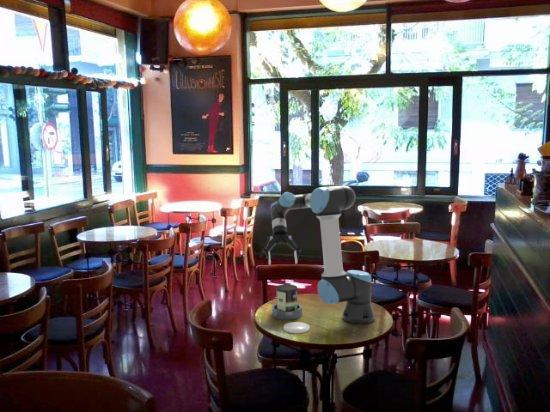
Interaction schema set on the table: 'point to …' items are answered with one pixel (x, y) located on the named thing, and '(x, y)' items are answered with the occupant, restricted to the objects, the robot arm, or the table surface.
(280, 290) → the coffee can
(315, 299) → the table surface
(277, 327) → the table surface
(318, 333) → the table surface
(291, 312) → the ring collar
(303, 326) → the saucer
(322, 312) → the table surface
